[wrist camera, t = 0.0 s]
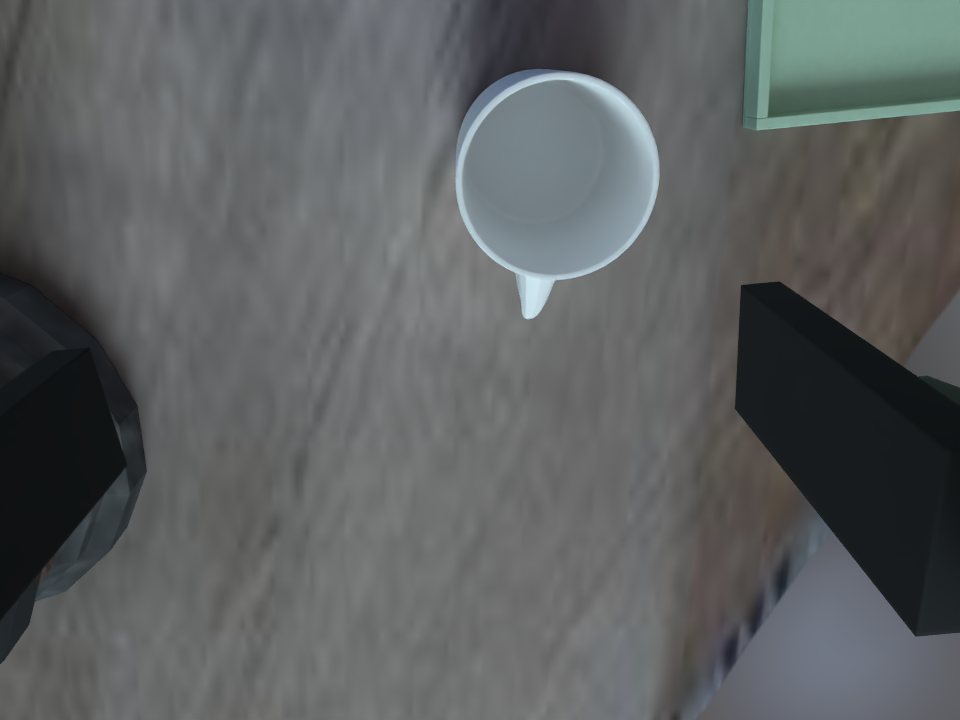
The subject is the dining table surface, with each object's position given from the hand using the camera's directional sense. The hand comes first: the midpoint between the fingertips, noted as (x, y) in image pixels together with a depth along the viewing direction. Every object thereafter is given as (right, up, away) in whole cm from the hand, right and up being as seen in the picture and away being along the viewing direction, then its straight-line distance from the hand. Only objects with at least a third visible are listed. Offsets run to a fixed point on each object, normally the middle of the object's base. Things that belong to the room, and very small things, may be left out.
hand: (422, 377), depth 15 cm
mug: (+4, +10, +26) cm, 29 cm away
